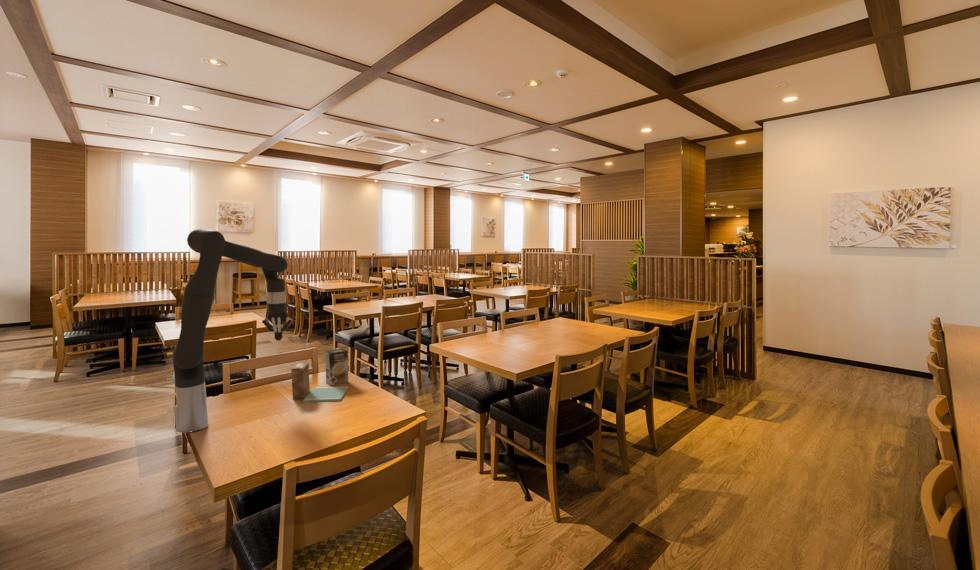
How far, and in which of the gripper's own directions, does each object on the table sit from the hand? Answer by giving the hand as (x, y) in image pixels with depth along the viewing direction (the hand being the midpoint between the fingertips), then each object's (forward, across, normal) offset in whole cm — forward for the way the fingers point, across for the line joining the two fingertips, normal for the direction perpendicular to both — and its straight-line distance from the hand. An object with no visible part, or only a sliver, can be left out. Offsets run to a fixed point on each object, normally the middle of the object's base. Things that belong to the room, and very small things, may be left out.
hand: (278, 340), depth 193 cm
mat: (+26, +19, 0) cm, 33 cm away
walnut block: (+26, +8, 0) cm, 27 cm away
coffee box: (+26, +20, +17) cm, 37 cm away
